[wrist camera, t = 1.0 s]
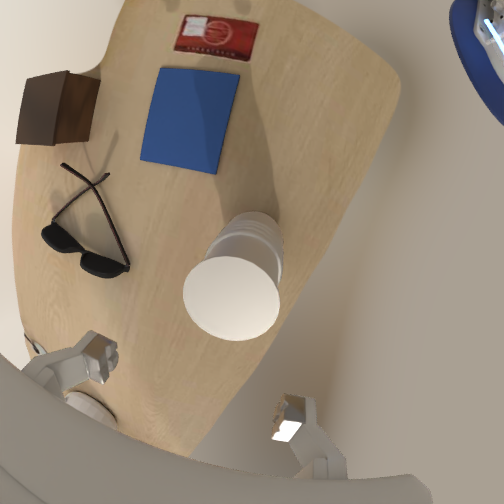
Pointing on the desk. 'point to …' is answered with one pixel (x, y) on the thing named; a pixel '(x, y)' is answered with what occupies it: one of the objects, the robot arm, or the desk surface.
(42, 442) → the robot arm
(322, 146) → the desk surface
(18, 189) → the desk surface
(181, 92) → the cloth
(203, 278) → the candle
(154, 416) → the desk surface
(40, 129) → the box
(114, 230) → the sunglasses
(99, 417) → the white plant pot
